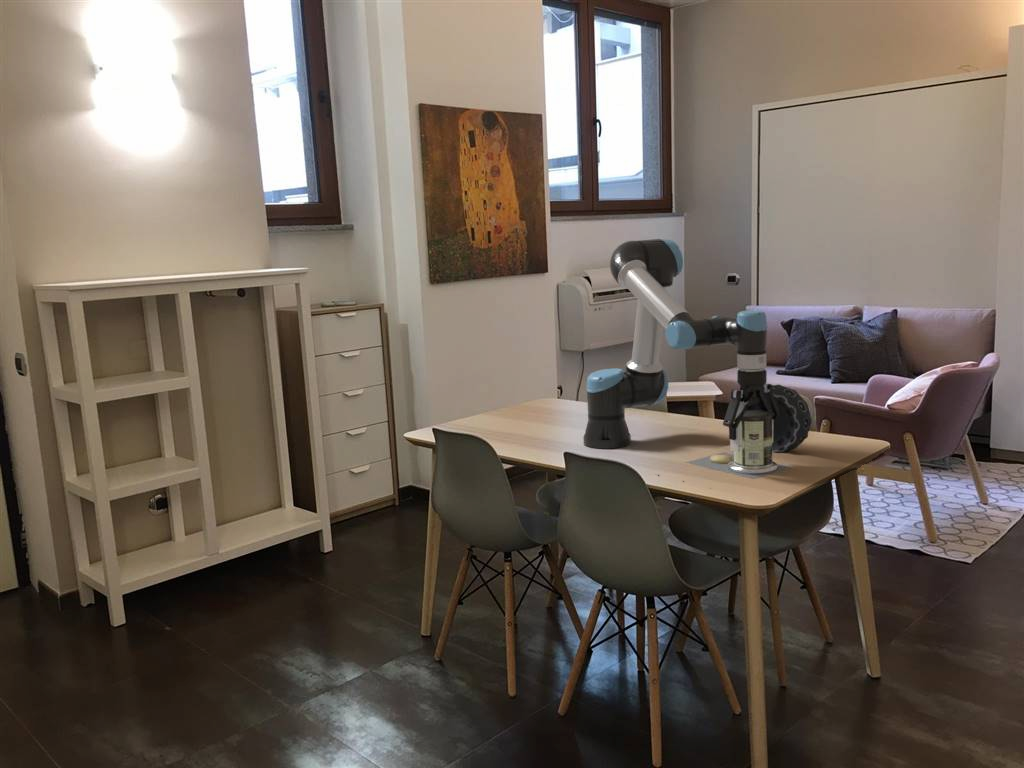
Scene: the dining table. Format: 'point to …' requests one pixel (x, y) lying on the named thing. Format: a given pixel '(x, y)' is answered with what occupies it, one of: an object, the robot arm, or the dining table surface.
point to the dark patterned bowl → (788, 419)
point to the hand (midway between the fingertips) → (752, 446)
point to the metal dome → (751, 471)
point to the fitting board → (722, 461)
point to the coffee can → (755, 440)
